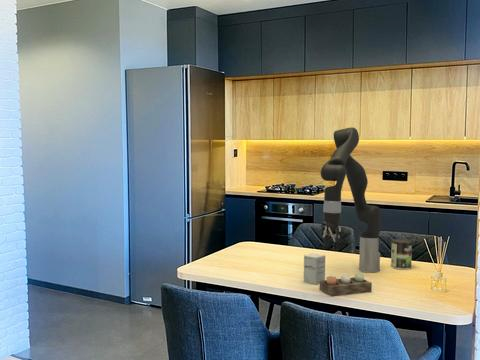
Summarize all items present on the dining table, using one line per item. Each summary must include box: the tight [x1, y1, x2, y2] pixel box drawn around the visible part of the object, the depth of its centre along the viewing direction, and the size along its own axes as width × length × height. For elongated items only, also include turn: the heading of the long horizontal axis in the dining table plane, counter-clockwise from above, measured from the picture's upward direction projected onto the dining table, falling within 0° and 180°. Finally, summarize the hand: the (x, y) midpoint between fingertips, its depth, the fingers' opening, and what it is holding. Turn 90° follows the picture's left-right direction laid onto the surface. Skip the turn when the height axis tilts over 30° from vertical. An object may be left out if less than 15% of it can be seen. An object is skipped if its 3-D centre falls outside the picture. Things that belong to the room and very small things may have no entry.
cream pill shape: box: [340, 274, 351, 284], centre depth 208 cm, size 4×4×3 cm
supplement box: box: [303, 252, 326, 285], centre depth 222 cm, size 7×7×13 cm
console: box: [318, 276, 373, 297], centre depth 209 cm, size 20×10×4 cm, turn 110°
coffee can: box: [390, 238, 413, 271], centre depth 249 cm, size 10×10×14 cm
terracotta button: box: [326, 275, 337, 286], centre depth 206 cm, size 4×4×3 cm
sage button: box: [354, 273, 365, 282], centre depth 211 cm, size 4×4×3 cm
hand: (331, 248), depth 206 cm, fingers open, 8 cm apart
